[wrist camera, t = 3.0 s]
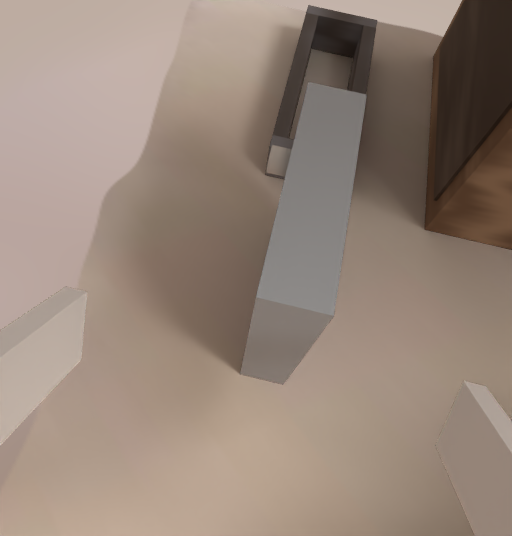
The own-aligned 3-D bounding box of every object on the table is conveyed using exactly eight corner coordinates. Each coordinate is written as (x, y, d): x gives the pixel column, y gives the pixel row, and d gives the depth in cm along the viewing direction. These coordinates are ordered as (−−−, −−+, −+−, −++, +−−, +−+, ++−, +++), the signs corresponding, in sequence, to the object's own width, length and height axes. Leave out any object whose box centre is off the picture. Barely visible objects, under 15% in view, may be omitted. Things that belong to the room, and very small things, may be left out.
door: (311, 235, 34) (366, 94, 21) (283, 384, 28) (333, 315, 16) (260, 223, 34) (285, 76, 21) (222, 369, 28) (224, 289, 16)
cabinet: (546, 81, 44) (705, -109, 30) (569, 263, 34) (822, 112, 20) (304, 27, 45) (345, -183, 30) (260, 191, 35) (289, -4, 21)
